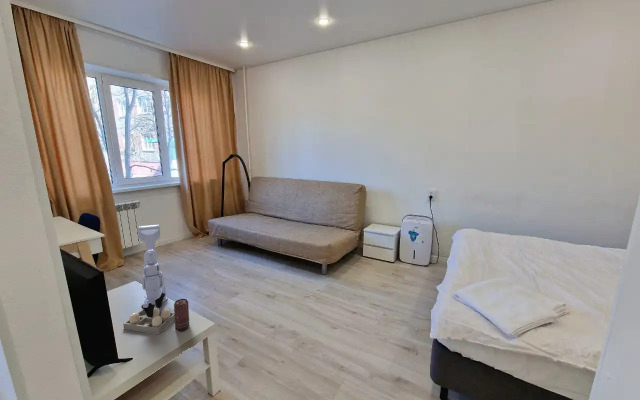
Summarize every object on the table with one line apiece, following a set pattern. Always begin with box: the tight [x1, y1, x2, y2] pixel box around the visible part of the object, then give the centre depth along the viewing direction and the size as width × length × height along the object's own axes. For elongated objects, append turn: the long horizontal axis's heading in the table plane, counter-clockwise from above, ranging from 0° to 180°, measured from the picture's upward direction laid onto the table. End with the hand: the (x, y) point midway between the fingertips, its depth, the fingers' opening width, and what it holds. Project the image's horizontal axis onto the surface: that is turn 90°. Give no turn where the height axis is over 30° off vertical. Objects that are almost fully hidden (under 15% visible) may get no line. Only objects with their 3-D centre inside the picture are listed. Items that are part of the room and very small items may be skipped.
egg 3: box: [152, 316, 162, 328], centre depth 128 cm, size 4×4×6 cm
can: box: [173, 298, 190, 333], centre depth 129 cm, size 6×6×14 cm
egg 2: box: [152, 307, 160, 318], centre depth 134 cm, size 4×4×6 cm
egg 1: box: [128, 312, 140, 324], centre depth 129 cm, size 4×4×6 cm
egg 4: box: [161, 308, 171, 320], centre depth 134 cm, size 4×4×6 cm
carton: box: [122, 308, 175, 335], centre depth 132 cm, size 12×18×3 cm
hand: (154, 312), depth 134 cm, fingers open, 7 cm apart
